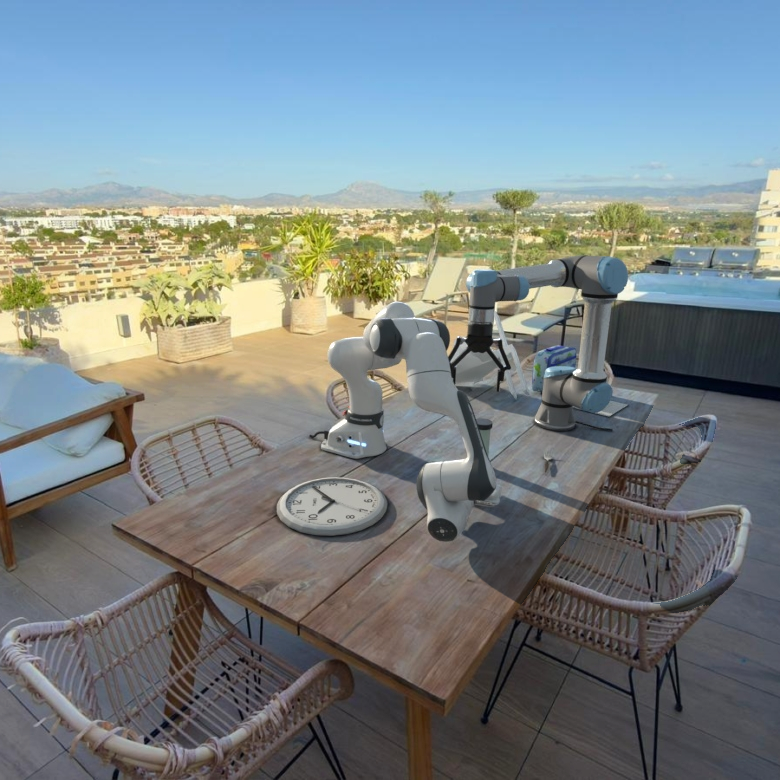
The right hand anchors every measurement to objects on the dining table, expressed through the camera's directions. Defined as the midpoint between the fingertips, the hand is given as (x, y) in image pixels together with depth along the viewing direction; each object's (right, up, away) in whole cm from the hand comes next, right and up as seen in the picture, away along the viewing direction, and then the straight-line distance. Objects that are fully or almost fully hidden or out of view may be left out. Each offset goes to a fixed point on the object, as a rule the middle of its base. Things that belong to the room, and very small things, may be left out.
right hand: (475, 389), depth 164 cm
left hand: (-5, -24, -17) cm, 30 cm away
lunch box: (+50, 0, +84) cm, 98 cm away
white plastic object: (+15, -1, +79) cm, 81 cm away
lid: (+2, -10, -1) cm, 11 cm away
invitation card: (+65, -8, +62) cm, 90 cm away
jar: (+2, -25, +4) cm, 25 cm away
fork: (+24, -24, +6) cm, 35 cm away
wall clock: (-43, -32, -21) cm, 57 cm away
